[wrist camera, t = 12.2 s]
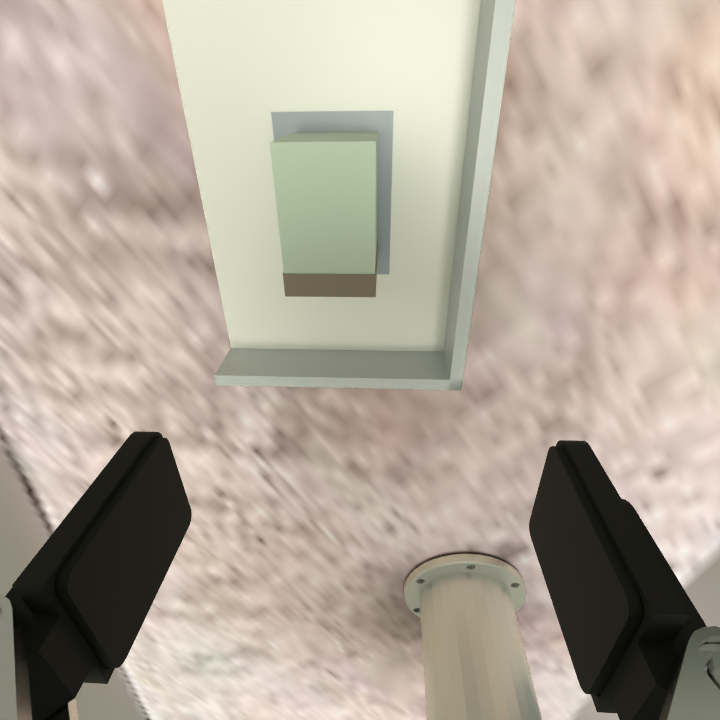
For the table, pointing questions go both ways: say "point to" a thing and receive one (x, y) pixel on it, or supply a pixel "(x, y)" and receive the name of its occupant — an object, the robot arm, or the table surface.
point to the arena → (395, 174)
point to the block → (327, 212)
